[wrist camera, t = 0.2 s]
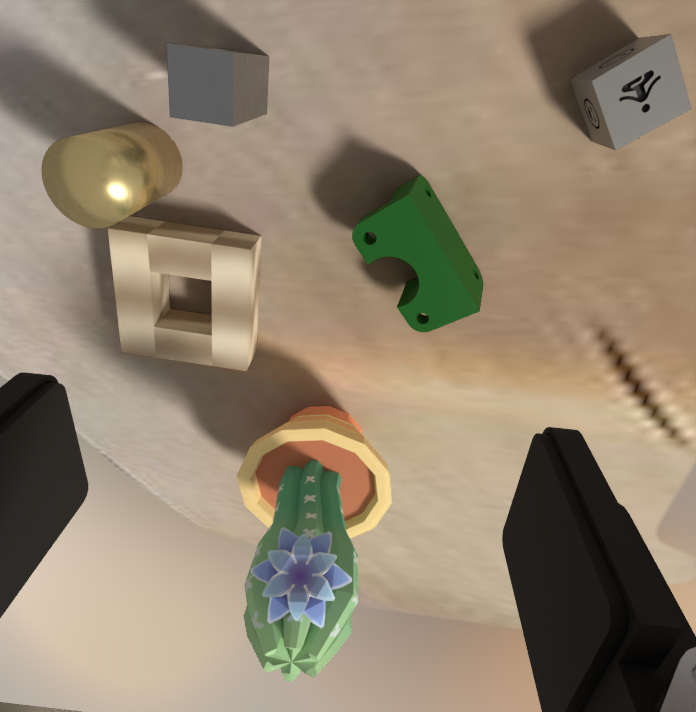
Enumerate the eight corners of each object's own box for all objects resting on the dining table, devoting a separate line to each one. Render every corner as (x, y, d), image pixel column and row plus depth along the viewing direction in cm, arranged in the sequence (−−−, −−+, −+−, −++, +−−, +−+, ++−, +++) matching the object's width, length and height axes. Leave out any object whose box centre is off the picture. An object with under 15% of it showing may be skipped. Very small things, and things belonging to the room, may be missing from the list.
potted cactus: (422, 434, 55) (442, 672, 34) (335, 508, 62) (304, 746, 40) (309, 353, 51) (249, 563, 30) (229, 441, 58) (132, 666, 36)
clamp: (383, 210, 48) (336, 210, 40) (439, 177, 45) (399, 172, 37) (434, 325, 48) (397, 348, 41) (492, 302, 45) (464, 321, 38)
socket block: (129, 216, 45) (107, 228, 42) (261, 235, 45) (250, 249, 42) (139, 333, 51) (121, 352, 48) (256, 350, 51) (246, 371, 48)
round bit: (108, 117, 41) (34, 130, 33) (181, 127, 41) (125, 143, 33) (116, 191, 44) (49, 221, 36) (183, 201, 44) (133, 234, 36)
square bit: (217, 48, 38) (166, 42, 30) (269, 56, 38) (233, 53, 30) (217, 106, 40) (169, 117, 32) (266, 113, 40) (232, 126, 32)
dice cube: (637, 37, 36) (671, 34, 32) (657, 104, 38) (691, 109, 34) (569, 79, 38) (591, 81, 33) (591, 141, 40) (615, 150, 35)
